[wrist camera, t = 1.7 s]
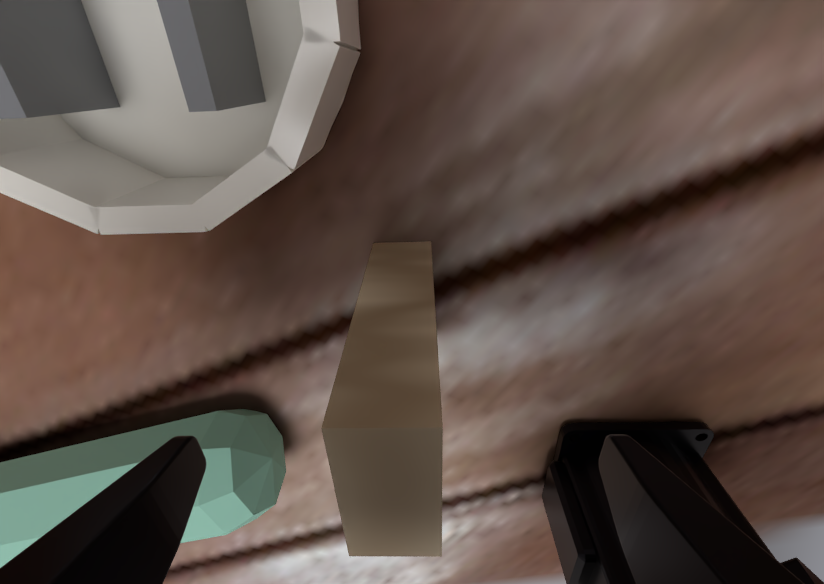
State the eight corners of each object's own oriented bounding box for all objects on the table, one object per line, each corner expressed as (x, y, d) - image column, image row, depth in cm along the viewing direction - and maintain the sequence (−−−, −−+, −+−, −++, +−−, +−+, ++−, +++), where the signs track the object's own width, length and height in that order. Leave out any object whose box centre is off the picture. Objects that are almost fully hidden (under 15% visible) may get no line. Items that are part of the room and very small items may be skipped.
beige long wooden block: (431, 241, 13) (442, 427, 6) (431, 335, 15) (441, 556, 8) (373, 242, 13) (321, 428, 6) (381, 336, 15) (349, 556, 8)
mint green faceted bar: (208, 534, 12) (-336, 634, 16) (302, 547, 16) (-136, 623, 20) (240, 363, 16) (-205, 477, 19) (310, 413, 20) (-62, 497, 24)
